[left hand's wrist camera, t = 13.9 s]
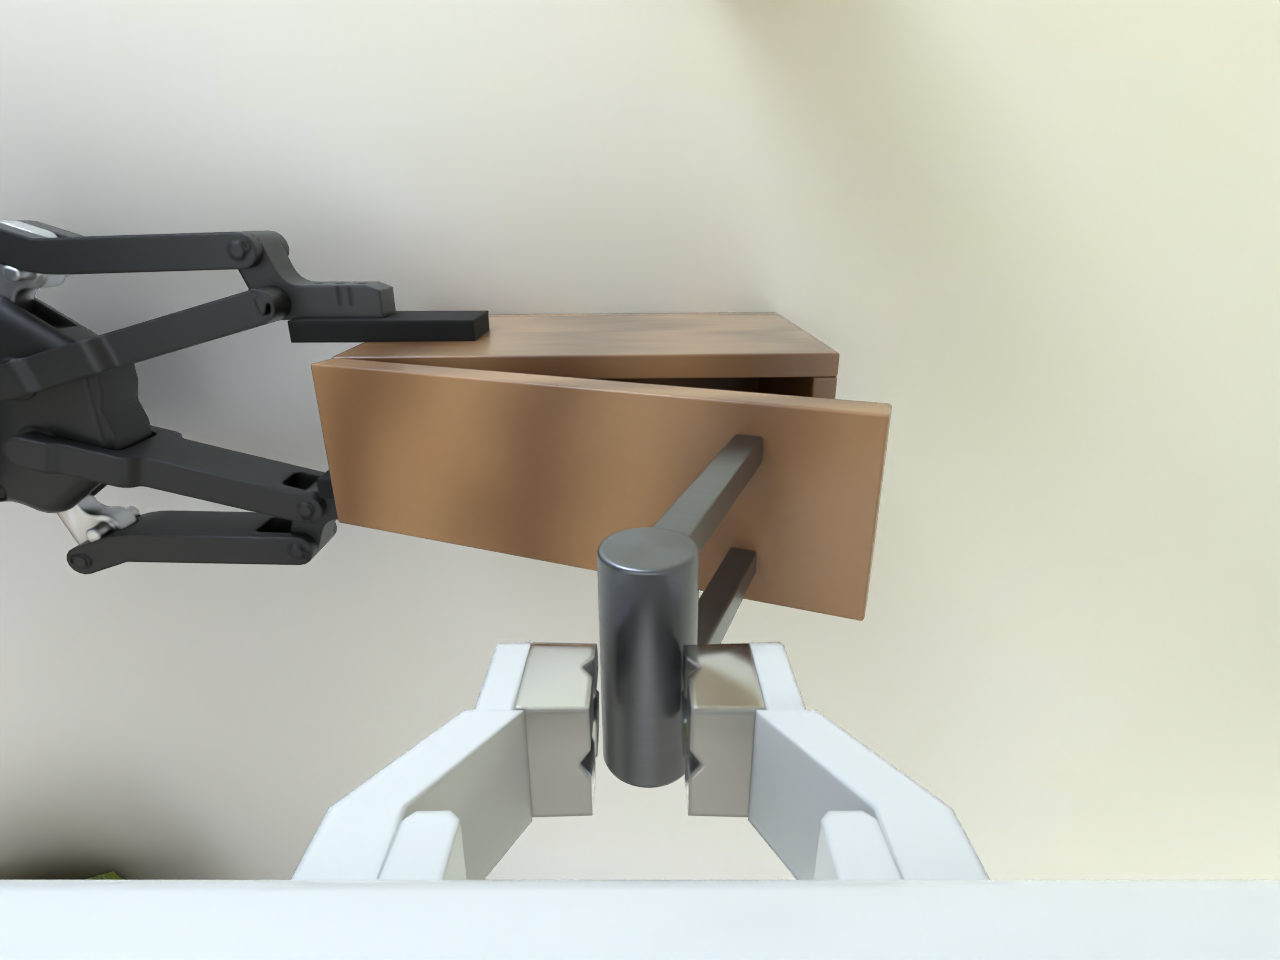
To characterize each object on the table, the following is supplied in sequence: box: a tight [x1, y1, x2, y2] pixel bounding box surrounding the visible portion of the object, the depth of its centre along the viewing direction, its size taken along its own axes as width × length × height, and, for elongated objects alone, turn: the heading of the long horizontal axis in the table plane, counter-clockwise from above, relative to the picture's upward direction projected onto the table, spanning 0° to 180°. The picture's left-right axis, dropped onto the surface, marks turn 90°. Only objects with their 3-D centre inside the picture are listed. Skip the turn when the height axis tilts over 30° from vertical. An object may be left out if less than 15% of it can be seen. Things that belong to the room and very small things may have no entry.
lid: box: [311, 358, 892, 788], centre depth 16 cm, size 17×5×9 cm, turn 91°
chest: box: [332, 313, 839, 399], centre depth 28 cm, size 16×5×10 cm, turn 90°
